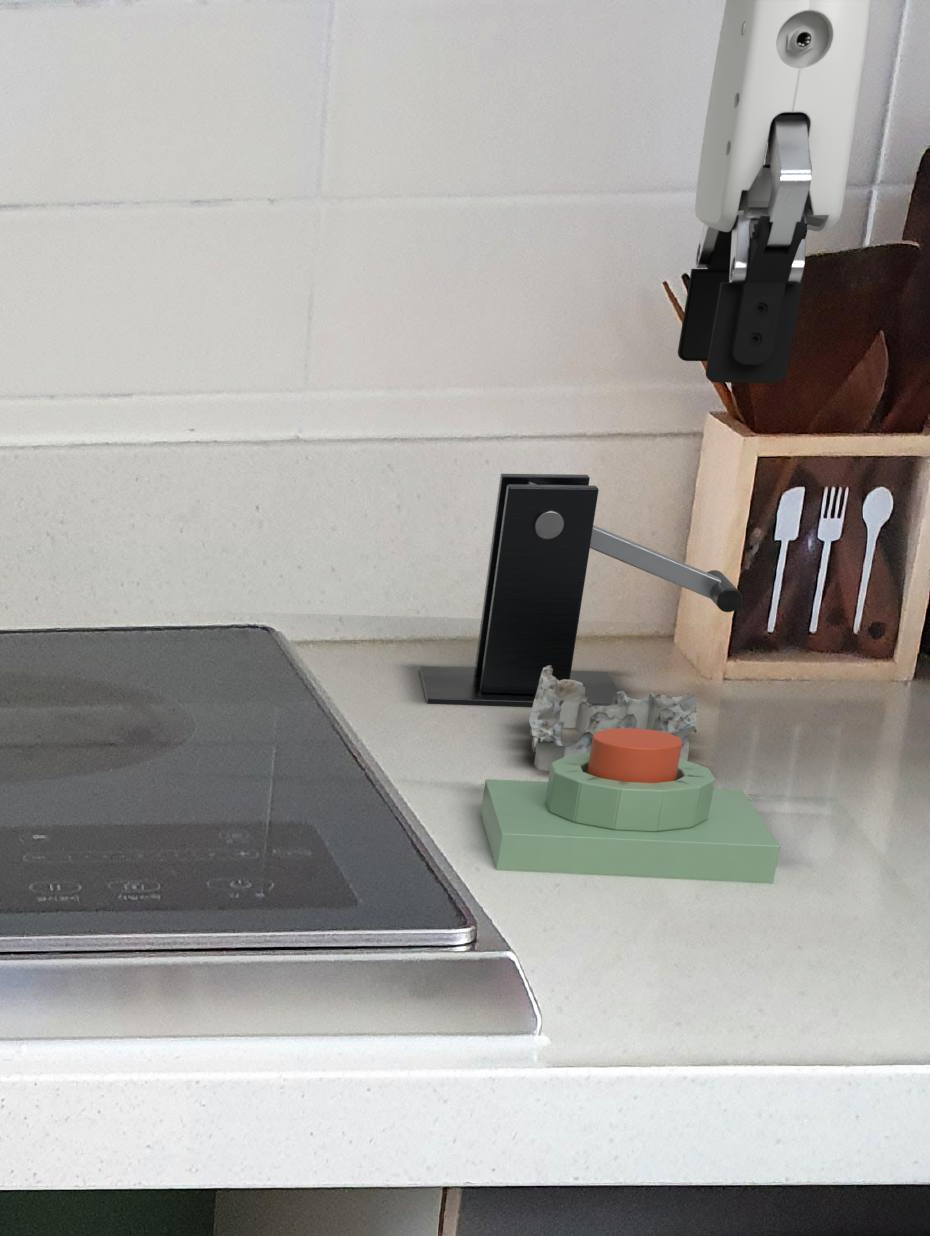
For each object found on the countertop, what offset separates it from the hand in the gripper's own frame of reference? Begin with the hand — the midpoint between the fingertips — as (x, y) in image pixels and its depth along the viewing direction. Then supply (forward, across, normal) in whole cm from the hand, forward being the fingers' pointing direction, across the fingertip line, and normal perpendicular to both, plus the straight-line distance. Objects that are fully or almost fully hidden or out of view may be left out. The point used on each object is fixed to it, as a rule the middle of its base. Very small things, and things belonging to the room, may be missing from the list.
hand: (727, 370), depth 103 cm
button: (+15, -14, +3) cm, 21 cm away
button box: (+18, -14, +3) cm, 23 cm away
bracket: (+18, +13, +6) cm, 23 cm away
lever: (+11, +13, +2) cm, 17 cm away
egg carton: (+19, -1, +2) cm, 19 cm away
